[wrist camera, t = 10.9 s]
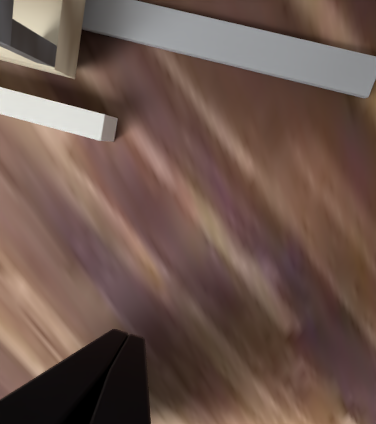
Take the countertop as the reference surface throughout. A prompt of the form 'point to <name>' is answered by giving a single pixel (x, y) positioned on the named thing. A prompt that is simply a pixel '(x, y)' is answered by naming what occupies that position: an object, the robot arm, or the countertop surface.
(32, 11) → the beige hollow block
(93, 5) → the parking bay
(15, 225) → the countertop surface
